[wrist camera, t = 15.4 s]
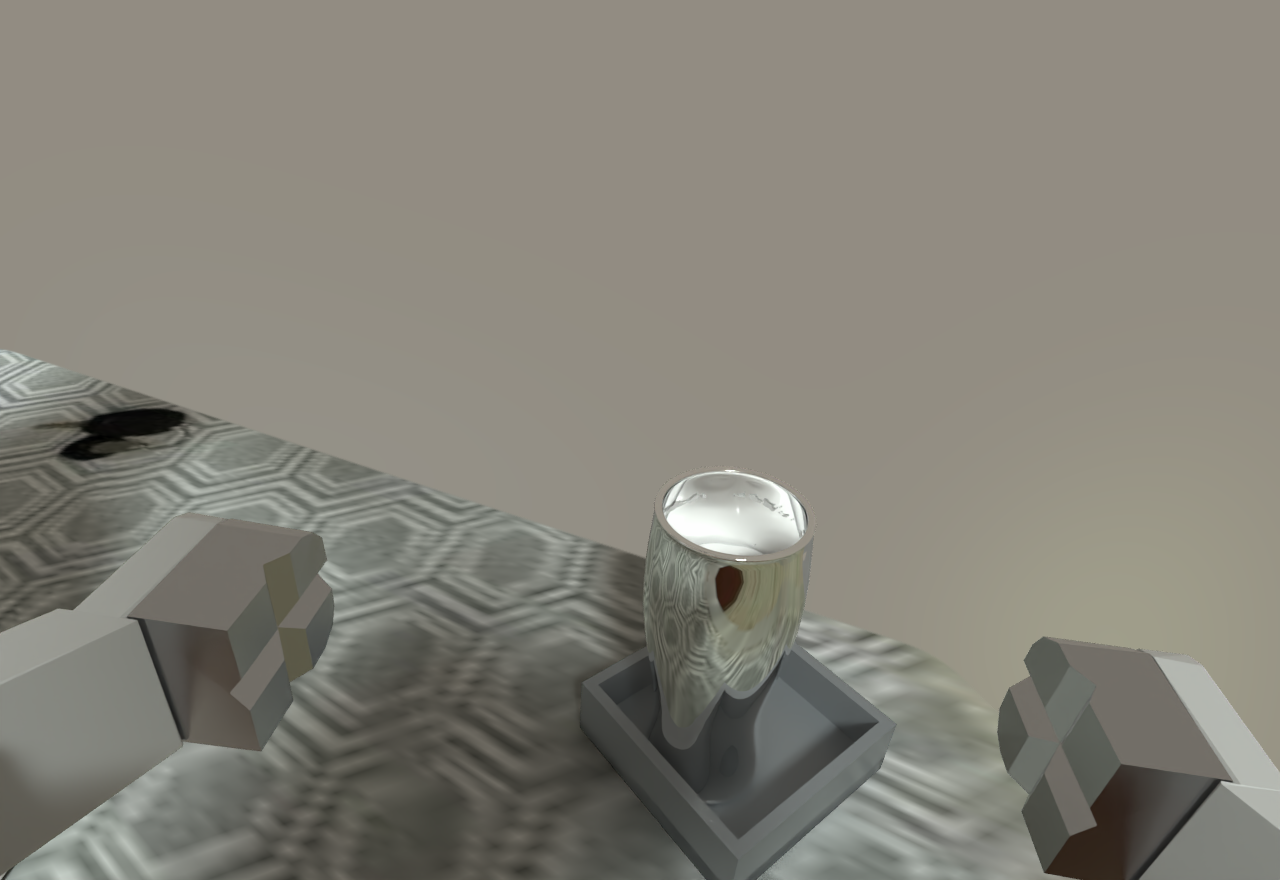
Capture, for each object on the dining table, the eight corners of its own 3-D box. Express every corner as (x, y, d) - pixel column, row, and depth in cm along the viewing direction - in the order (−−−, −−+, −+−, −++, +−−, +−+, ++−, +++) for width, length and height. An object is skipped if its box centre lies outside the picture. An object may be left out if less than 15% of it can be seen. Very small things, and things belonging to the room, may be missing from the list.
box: (727, 905, 32) (738, 859, 30) (580, 727, 39) (581, 682, 37) (880, 768, 38) (896, 724, 36) (728, 637, 45) (736, 594, 44)
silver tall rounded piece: (796, 785, 36) (858, 540, 28) (668, 836, 33) (698, 582, 26) (726, 680, 41) (762, 451, 34) (611, 717, 39) (622, 478, 31)
